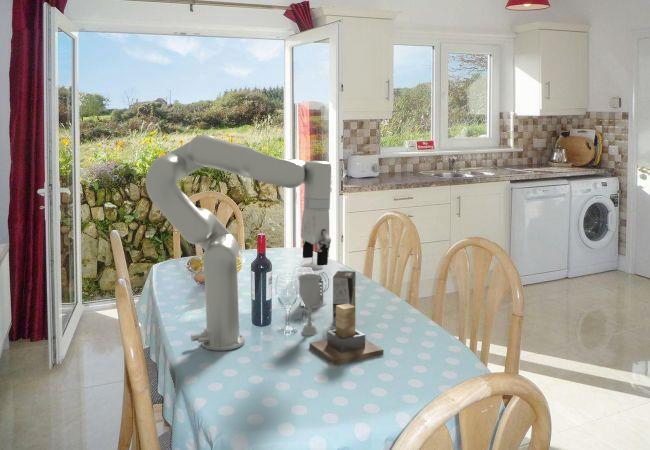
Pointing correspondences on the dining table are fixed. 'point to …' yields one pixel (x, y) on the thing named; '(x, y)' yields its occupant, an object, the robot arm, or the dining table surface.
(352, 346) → the grey square socket
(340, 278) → the coffee box
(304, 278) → the chalice
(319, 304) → the french press
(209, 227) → the robot arm
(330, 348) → the board
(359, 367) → the dining table surface
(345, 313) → the rail post
